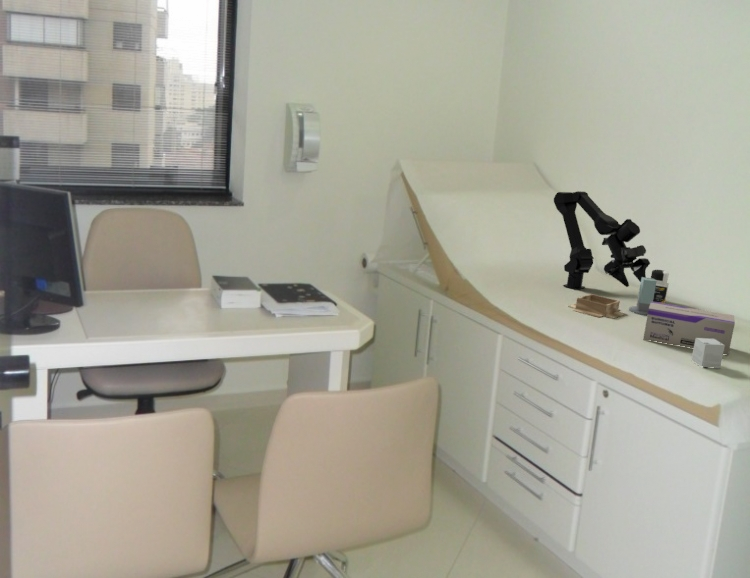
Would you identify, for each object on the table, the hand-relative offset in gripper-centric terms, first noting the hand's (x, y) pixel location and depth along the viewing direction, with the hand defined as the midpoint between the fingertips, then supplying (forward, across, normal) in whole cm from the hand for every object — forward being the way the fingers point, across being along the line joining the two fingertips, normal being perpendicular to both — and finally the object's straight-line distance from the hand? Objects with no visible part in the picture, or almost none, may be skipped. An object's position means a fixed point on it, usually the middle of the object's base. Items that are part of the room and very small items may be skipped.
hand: (636, 285), depth 298 cm
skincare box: (+44, -30, -32) cm, 62 cm away
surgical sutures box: (+32, -18, -20) cm, 42 cm away
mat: (+9, 0, +2) cm, 10 cm away
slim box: (+9, 0, +2) cm, 9 cm away
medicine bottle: (+2, +19, +10) cm, 21 cm away
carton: (+5, -18, +6) cm, 19 cm away
